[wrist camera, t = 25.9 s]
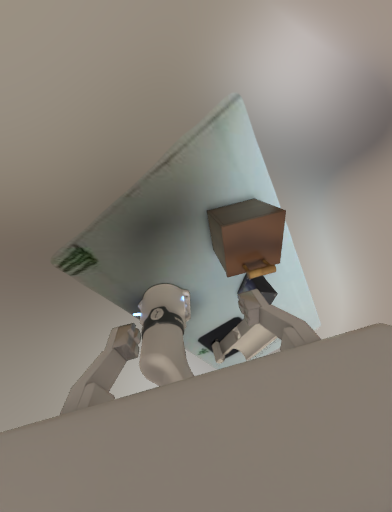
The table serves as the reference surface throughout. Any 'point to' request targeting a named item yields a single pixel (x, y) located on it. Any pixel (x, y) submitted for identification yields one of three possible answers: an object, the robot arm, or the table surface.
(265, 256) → the box lid
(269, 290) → the small box
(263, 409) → the robot arm
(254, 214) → the storage box
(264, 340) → the skate ramp
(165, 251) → the table surface
